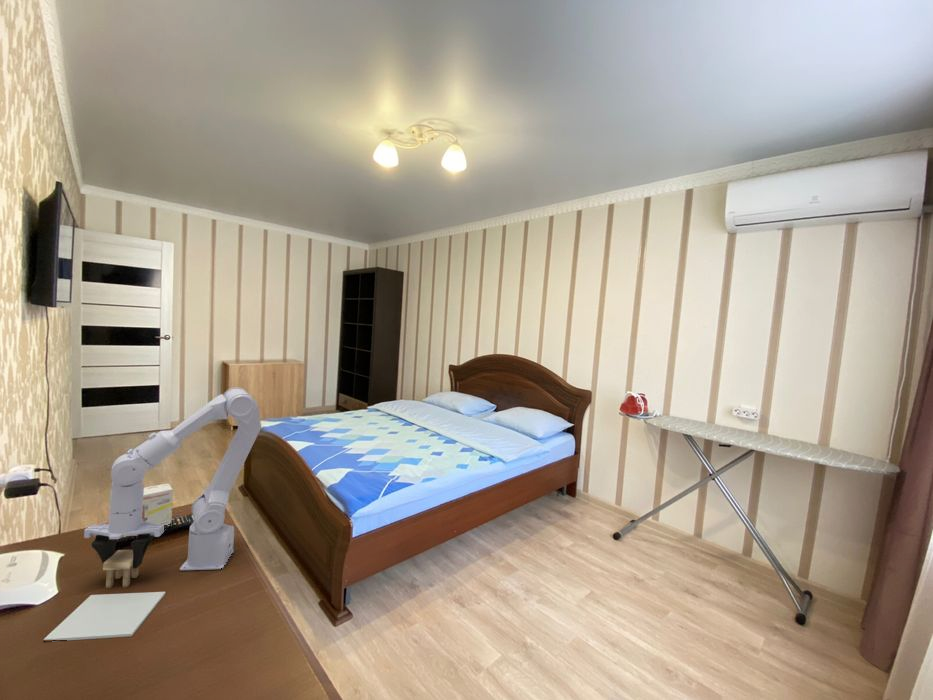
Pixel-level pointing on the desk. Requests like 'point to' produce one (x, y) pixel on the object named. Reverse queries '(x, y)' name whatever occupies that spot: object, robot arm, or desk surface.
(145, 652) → the desk surface
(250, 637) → the desk surface
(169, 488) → the ink box
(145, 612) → the light grey mat
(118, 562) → the birch stool
